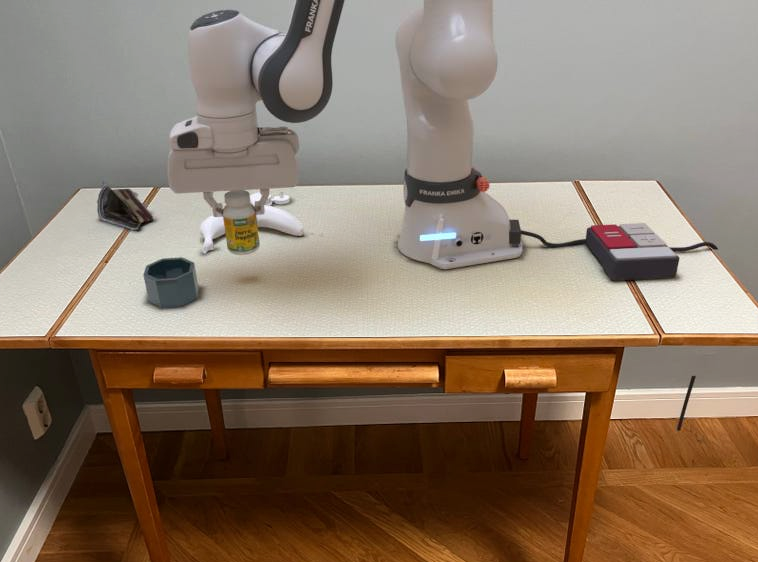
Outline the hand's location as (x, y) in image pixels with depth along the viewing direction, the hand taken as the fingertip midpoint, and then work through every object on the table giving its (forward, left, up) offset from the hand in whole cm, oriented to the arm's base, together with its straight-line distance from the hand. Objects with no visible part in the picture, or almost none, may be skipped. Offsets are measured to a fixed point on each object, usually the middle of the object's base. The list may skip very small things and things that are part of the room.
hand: (239, 214), depth 120 cm
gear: (-2, -31, -12) cm, 33 cm away
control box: (-66, +2, -12) cm, 67 cm away
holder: (+12, +4, -12) cm, 17 cm away
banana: (0, -16, -12) cm, 20 cm away
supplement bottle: (0, 0, -6) cm, 6 cm away
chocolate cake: (+24, -29, -12) cm, 39 cm away
